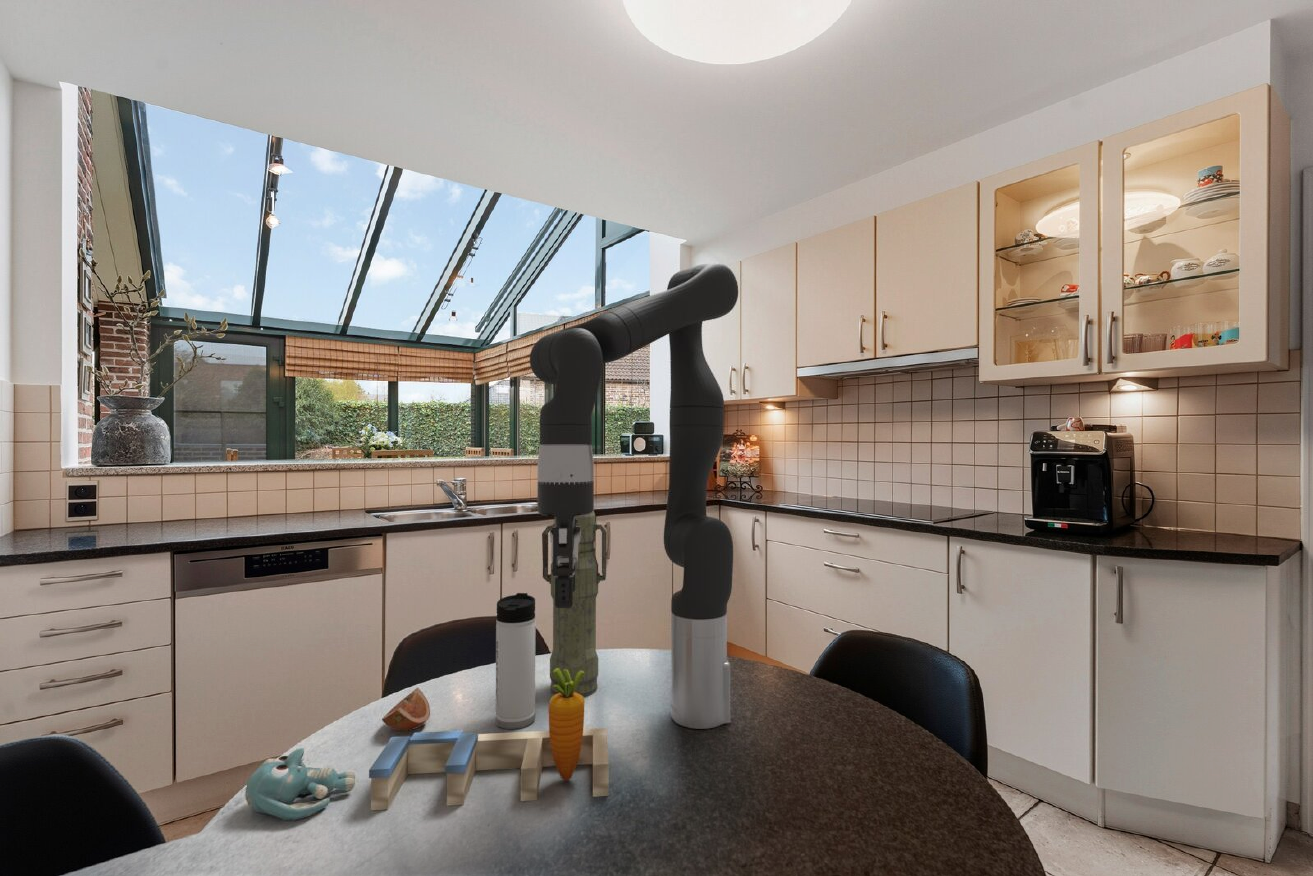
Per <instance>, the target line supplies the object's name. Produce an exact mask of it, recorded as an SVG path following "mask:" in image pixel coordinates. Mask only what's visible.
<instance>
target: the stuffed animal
mask: <svg viewBox="0 0 1313 876" xmlns="http://www.w3.org/2000/svg"><path fill="white" fill-rule="evenodd" d="M304 755H305V749H304V748H303V747H300V748H296V749H294V750H293V751H291V752H290V753H289V754H288V755H281V756H280V757H277V758H272V757H271V758H268V759H266V760H265V761H264V762H263V763H262V764H261V765H259V767H258V768H257V769H256V770H254V772H253V773H252V774H251V775H250V777H249V778H248V780H247V782H246V785H245V791H244V794H245V800H246V803H247V805H248V806H249V807H250V809H251V810H252V811H253V812H254V813H260V814H269V815H271V816H274V817H277V818H279V819H282V820H284V821H297V820H300V819H303V818H306V817H307V818H308V817H310V816H312V815H315V814H316V813H318V812H320V811H321V810H323V809H324V808H326V807H328V806H329V803H330V801H331V799H330V797H326V796H327V794H328V793H330V792H332V791H334V789H336V790H339V791H341V792H343V791H344V792H348V791H352V790H353V789H354V787H355V785H356V781H355V780H356V774H355V772H354V771H343V772H341V773H337V770H335V768H333V767H329V766H323V767H321V768H318V767H306V765H305V763H304V762H303V761H304V760H305V758H304ZM246 786H247V787H246ZM309 794H312V795H313V796H314V797H315V799H319V800H313V801H304V802H297V803H294V801H295V800H296V799H297V797H298V796H299V795H301V796H303V795H309ZM325 797H326V798H325ZM292 803H293V804H292Z"/></svg>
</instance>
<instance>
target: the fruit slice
mask: <svg viewBox="0 0 1313 876" xmlns="http://www.w3.org/2000/svg"><path fill="white" fill-rule="evenodd" d="M430 716H431V708H430V703H429V701H428V699H427V698H426V696H425V695H424V693H423V691H422V690H421V689H419V687H416V688H415V689H413V691H411V692H410V693H409V694H408V695H406V696H405V697H404V698H403V699H401V700H400V701H399V702H398V703H397V704H396V705H394V706H393V707H392V708H391V709H390V710H389V711H388V712H387V713H386V714H385V715H384V716H383V717H382V719H381V721H382V722H383V723H384V724H385V725H386V726H388V727H389V728H391V729H393V730H396V731H411V730H414V729H417V728H420V727H421V726H422V725H423V724H425V723H426V722H427V721H428V720H429V719H430Z"/></svg>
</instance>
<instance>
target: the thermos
mask: <svg viewBox="0 0 1313 876" xmlns="http://www.w3.org/2000/svg"><path fill="white" fill-rule="evenodd" d="M553 517H554V516H553ZM575 517H577V519H578V522H577V526H581V538H580V542H579V553H578V561H577V562H576V564H574V565H575V591H574V592H573V605H572V607H570V608H557V607H556V606H555V578H554V576H553V573H552V569H553V562H552V561H551V563H550V573H549V534H550V529H552V527H556V518H555V517H554V518H553V519H554V520H553V524H551V525H550V524H549V525H547V526H546V527H545V529H544V530H543V532H542V533H541V544H542V547H541V548H542V550H541V553H542V554H541V555H542V578H543V579H544V580H545V582H547V583H549V585H550V596H551V598H552V651H551V655H550V658H549V679H550V693H551V695H552V696H554V695H556V694H558V693H560V692H559V691H557V690H556V689H555V688H554V687H553V685H555V684H558V685H559V683H558V681H557V679H556V678H555V676H554V673H553V671H554V670H555V669H556V668H559V669H560V671H561V672H562V675H563V677H564V679H565V676H564V673H563V670H565V669H566V670H568V672H569V674H570V677H571V680H572V681H574V679H575V676H576V675H577V673H578V672H579V671H580V670H581V671H583V672H584V673H585V674H584V675H583V677H582V678H581V680H580V682H579V684H578V685H577V687H576V689H575V691H574V692H575V693H578V694H580V695H582V696H583V697H584V698H586V697H588V696H589V697H590V696H591V695H593V694H595V693H596V692H597V691H598V676H599V656H598V653H597V649H596V647H597V646H596V642H597V640H596V635H597V634H596V627H597V624H596V622H597V621H596V617H597V610H596V608H597V604H596V602H597V601H596V598H597V597H598V594H599V583H600V582H603V581H606V579H607V578H606V577H607V531H606V529H605V528H604V526H603V524H601V523H597V522H596V514H595V510H593V512H592V513H590V514H587V515H577V516H575ZM598 530H600V532H601V573H600V572H599V563H598V560H597V558H596V548H595V541H596V531H598ZM560 565H562V564H559V566H560ZM565 682H567V681H566V679H565ZM559 686H560V685H559Z"/></svg>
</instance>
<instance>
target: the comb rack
mask: <svg viewBox="0 0 1313 876" xmlns="http://www.w3.org/2000/svg"><path fill="white" fill-rule="evenodd" d="M608 742H609V741H608V728H607V727H598V728H597V727H596V728H583V737H582V743H581V749H580V754H579V759H578V762H577V765H576V766H578V765H579V766H581V765H592V797H594V798H595V797H609V796H610V795H609V794H610V793H609V789H610V786H609V785H610V781H609V780H610V777H609V775H610V774H609V773H610V772H609V771H610V770H609V769H610V767H609V766H610V764H609V763H610V762H609V761H610V760H609V745H608V744H609V743H608ZM543 767H556V765H555V762H554V760H553V755H552V750H551V744H550V736H549V730H536V731H516V732H515V731H514V732H499V733H497V732H496V733H495V732H494V733H478V732H470V733H468V732H467V733H464V730H462V729H461V730H442V731H422V732H414V733H413V734H412V736H409V735H408V736H407V735H405V736H392V737H391V738H390V739H389V741H388V742H387V744H386V745H385V747H384V748H383V750H382V751H381V752H380V753H379V755H378V756H377V758H376V759H375V761H374V762H373V763H372V765H371V766H370V768H369V769H368V779H371V780H370V794H371V795H370V811H380V810H389V808H390V806H392V803H393V802H394V799H395V797H397V794H398V793H399V791H400V790H401V787H402V786H403V783H404V781H405V780H406V779H407V776H408V775H417V774H418V775H419V774H437V773H439V774H440V773H444V775H446V806H447V807H449V806H461V805H462V806H463V805H464V804H465V801H466V799H467V796H468V792H469V790H470V788H471V785H472V782H473V779H474V777H475V775H476V771H488V770H492V771H493V770H507V769H520V802H529V801H530V802H531V801H537V800H538V797H539V790H540V782H541V777H542V770H543Z"/></svg>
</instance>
